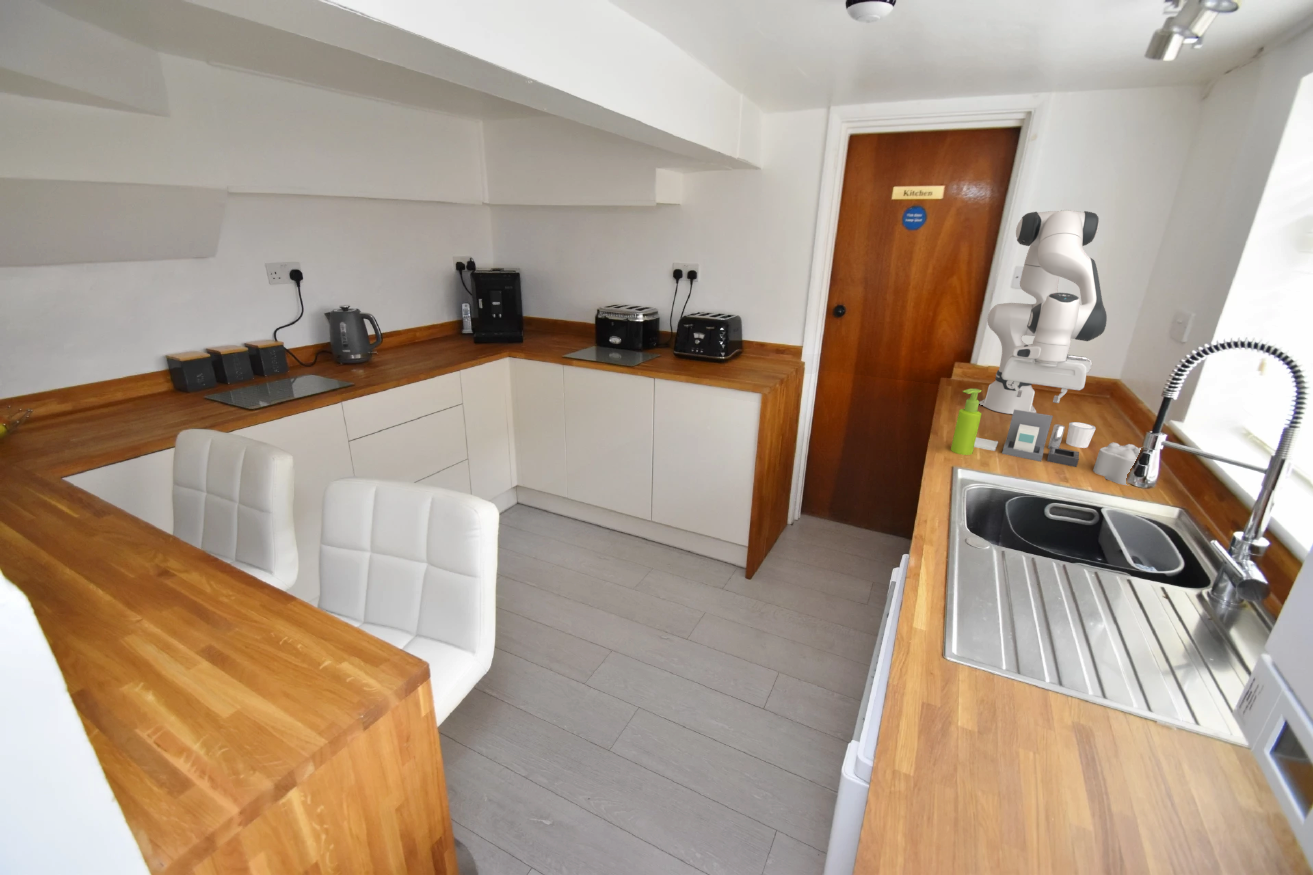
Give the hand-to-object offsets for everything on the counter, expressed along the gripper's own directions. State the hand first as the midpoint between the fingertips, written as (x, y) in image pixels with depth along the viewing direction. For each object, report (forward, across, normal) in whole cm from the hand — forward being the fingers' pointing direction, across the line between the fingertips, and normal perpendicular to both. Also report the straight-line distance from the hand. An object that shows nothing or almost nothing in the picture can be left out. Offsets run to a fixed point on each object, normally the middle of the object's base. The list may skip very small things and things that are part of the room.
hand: (1036, 399), depth 167 cm
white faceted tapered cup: (+18, -14, -20) cm, 30 cm away
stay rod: (+17, -8, -11) cm, 22 cm away
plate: (+17, +10, -1) cm, 20 cm away
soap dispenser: (+18, +16, +10) cm, 26 cm away
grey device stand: (+17, 0, 0) cm, 17 cm away
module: (+17, 0, 0) cm, 17 cm away
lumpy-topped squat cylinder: (+18, -24, +1) cm, 30 cm away
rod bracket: (+17, -10, -1) cm, 20 cm away
